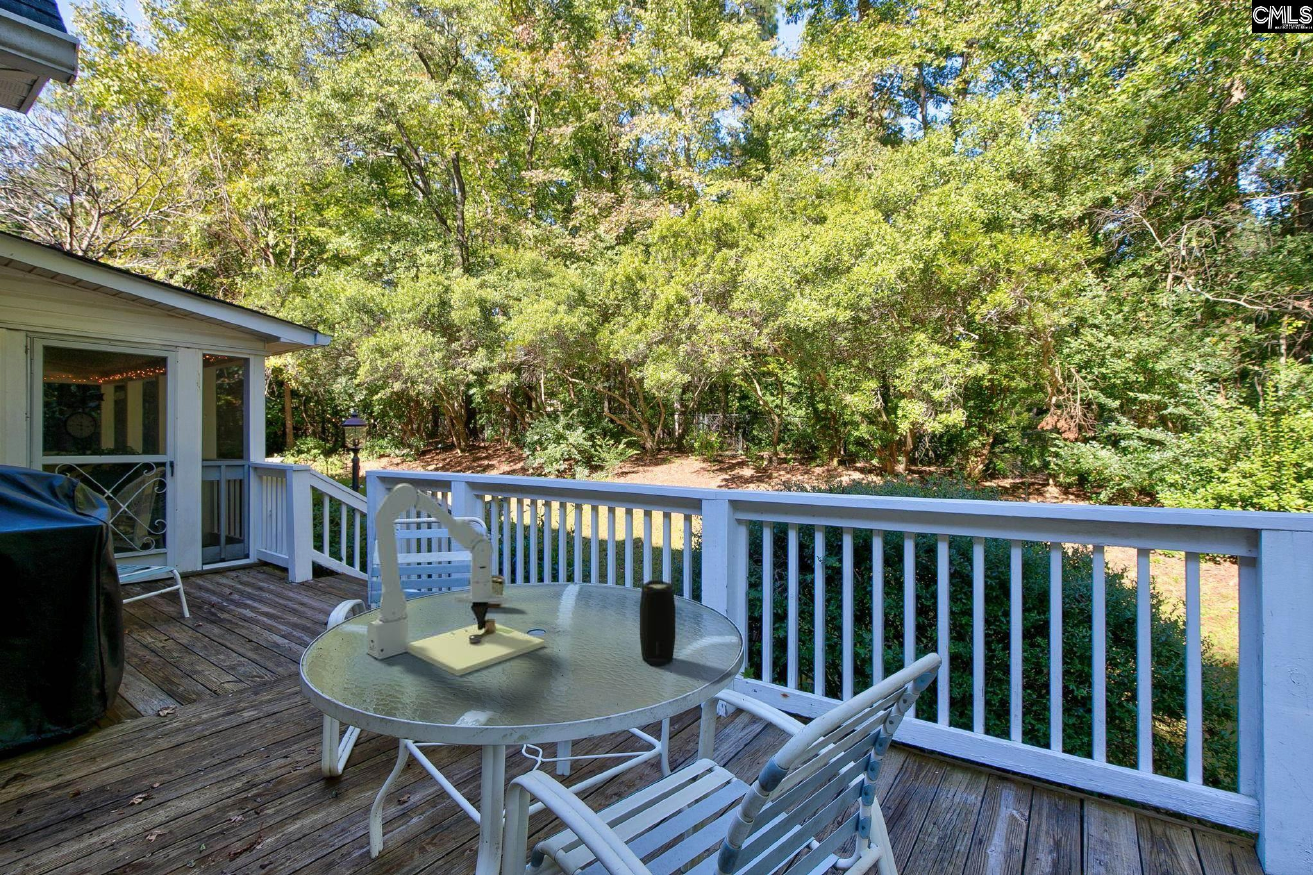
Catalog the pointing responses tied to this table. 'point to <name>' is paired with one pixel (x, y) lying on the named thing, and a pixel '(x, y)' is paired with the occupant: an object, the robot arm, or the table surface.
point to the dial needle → (488, 628)
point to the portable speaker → (657, 622)
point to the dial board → (472, 648)
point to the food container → (496, 589)
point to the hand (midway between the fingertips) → (481, 628)
